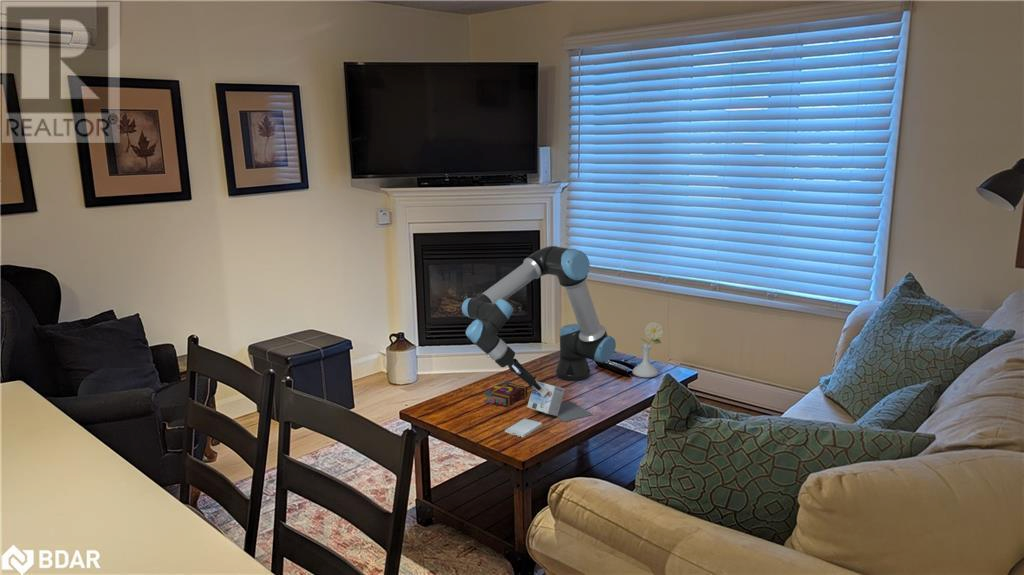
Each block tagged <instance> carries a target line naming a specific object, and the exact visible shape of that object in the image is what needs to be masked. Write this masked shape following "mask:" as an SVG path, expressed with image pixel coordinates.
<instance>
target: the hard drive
mask: <svg viewBox="0 0 1024 575" xmlns="http://www.w3.org/2000/svg"><path fill="white" fill-rule="evenodd" d="M542 426H543V422H539V421H536V420H532V419H528V418H523V419H521V420H520V421H517V422H516V423H514V424H513V425H511V426H509V427H507V428H505V429H504V432H505V433H506V432H507V433H506V434H510V435H514V436H516V435H517V437H520V436H521V438H526V435H527V436H528V435H529V434H531V433H533V432H534V431H536V430H538V429H540V428H541V427H542Z"/></svg>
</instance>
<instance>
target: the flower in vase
mask: <svg viewBox="0 0 1024 575" xmlns="http://www.w3.org/2000/svg"><path fill="white" fill-rule="evenodd" d="M645 326H646V327H645V329H644V333H645V336H646V337H647V338H648V339H650V341H649V342H648V341H647V340H644V339H642V338H641V340H642V341H644V342H646V343H643V344H640V348H641V349H642V361H641V362H640V363H639V364H637V365H636V366H635V367H634V368H633V369H632V371H631V372H632V374H633V375H634V376H637V377H640V378H645V379H648V378H654V377H656V376H658V375H659V371H658V369H657V368H656V367H655V366H654V365H653V364H652V363H650V359H649V355H650V351H651V349H652V347H653V345H651V342H653V344H655V345H659V344H662V341H661V340H660V338H662V336H663V335H664V329H663V326H662V324H661V323H658V322H656V321H652V322H650V323H648V324H646V325H645Z"/></svg>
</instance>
